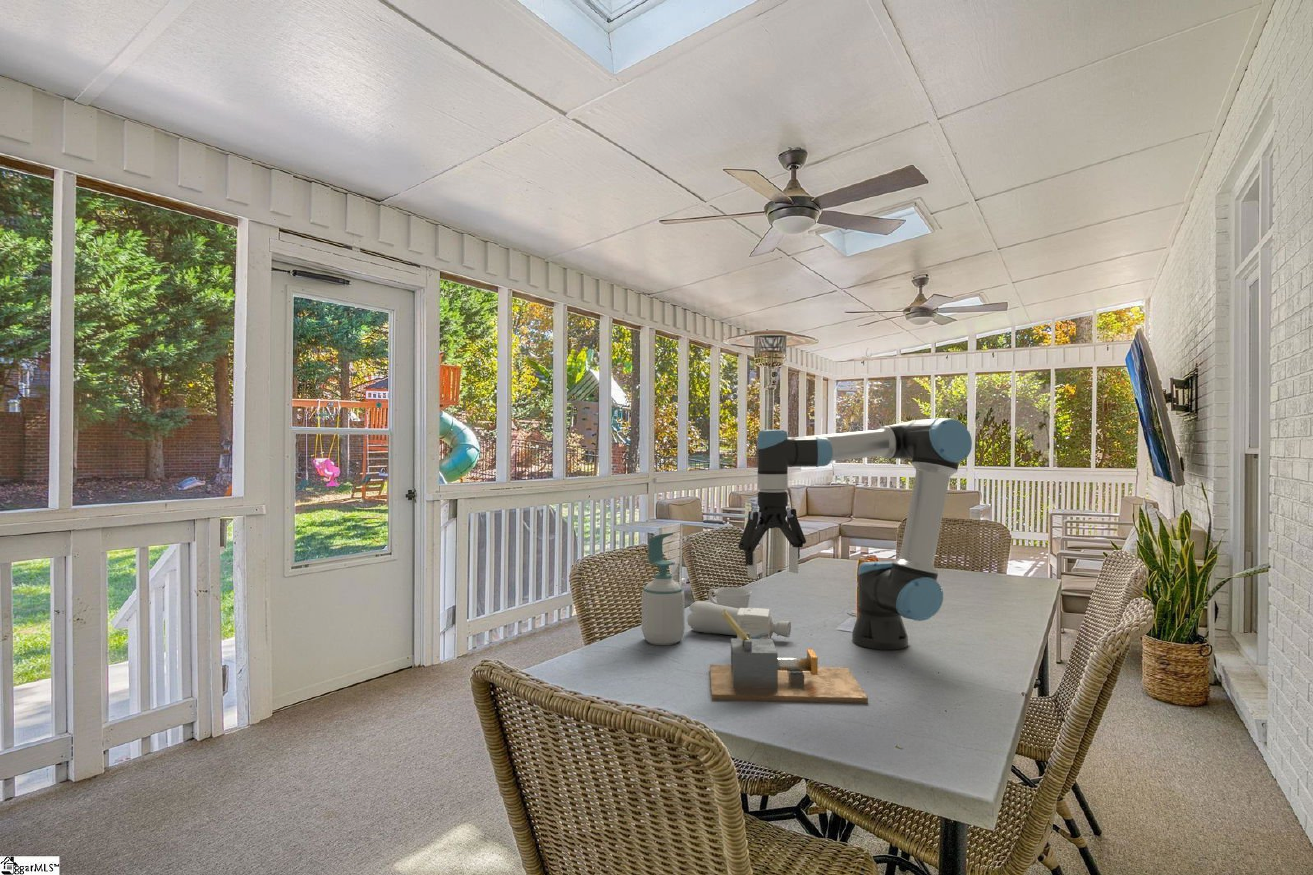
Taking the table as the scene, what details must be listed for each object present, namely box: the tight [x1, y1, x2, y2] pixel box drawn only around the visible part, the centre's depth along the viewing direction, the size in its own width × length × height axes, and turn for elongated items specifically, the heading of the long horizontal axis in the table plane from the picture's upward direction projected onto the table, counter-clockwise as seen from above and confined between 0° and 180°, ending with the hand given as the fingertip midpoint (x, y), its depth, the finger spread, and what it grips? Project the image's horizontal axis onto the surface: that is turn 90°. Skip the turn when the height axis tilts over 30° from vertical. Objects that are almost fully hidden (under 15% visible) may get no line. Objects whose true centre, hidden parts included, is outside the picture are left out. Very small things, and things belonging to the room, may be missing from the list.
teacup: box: [707, 586, 753, 609], centre depth 213 cm, size 12×15×10 cm
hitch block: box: [709, 632, 869, 704], centre depth 157 cm, size 34×20×11 cm, turn 87°
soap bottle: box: [641, 532, 686, 646], centre depth 192 cm, size 12×12×31 cm
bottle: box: [687, 600, 792, 639], centre depth 197 cm, size 9×9×30 cm
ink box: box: [736, 607, 770, 639], centre depth 180 cm, size 9×8×12 cm
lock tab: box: [722, 609, 749, 641], centre depth 157 cm, size 9×4×1 cm
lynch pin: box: [778, 649, 819, 675], centre depth 157 cm, size 13×6×4 cm, turn 87°
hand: (773, 575), depth 168 cm, fingers open, 13 cm apart
